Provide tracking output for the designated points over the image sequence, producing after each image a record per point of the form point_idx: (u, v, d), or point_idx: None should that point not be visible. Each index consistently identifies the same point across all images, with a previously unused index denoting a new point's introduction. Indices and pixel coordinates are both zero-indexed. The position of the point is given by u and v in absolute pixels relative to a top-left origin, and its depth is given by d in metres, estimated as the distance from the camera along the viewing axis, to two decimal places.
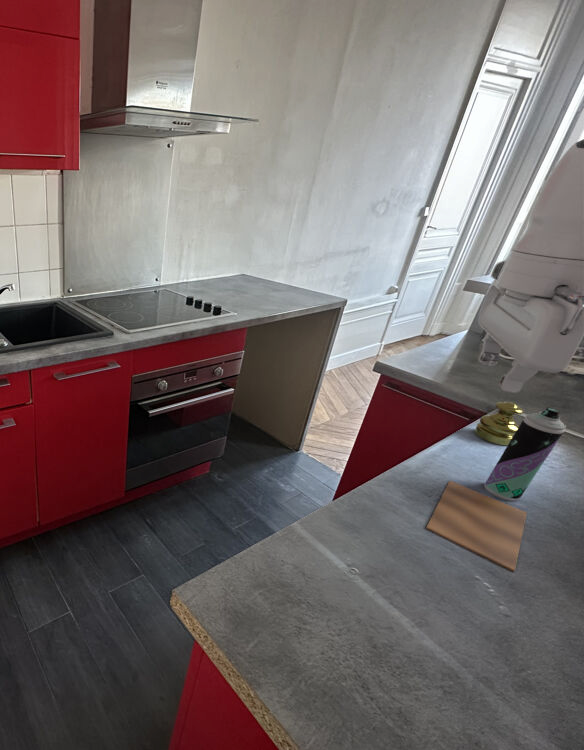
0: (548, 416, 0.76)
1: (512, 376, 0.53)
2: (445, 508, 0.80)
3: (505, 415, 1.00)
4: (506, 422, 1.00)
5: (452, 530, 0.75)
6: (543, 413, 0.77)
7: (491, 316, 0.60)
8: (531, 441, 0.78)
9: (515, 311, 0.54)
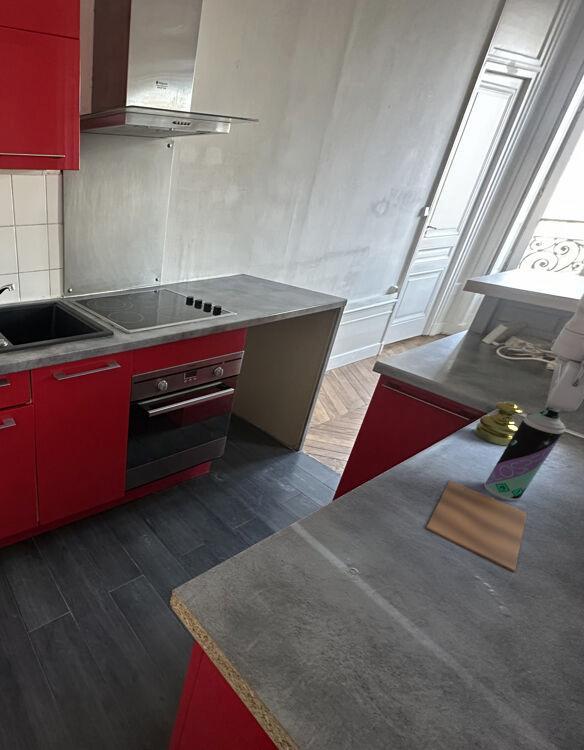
0: (548, 416, 0.76)
1: (549, 405, 0.78)
2: (445, 508, 0.80)
3: (505, 415, 1.00)
4: (506, 422, 1.00)
5: (452, 530, 0.75)
6: (543, 413, 0.77)
7: (556, 371, 0.81)
8: (531, 441, 0.78)
9: (563, 368, 0.77)
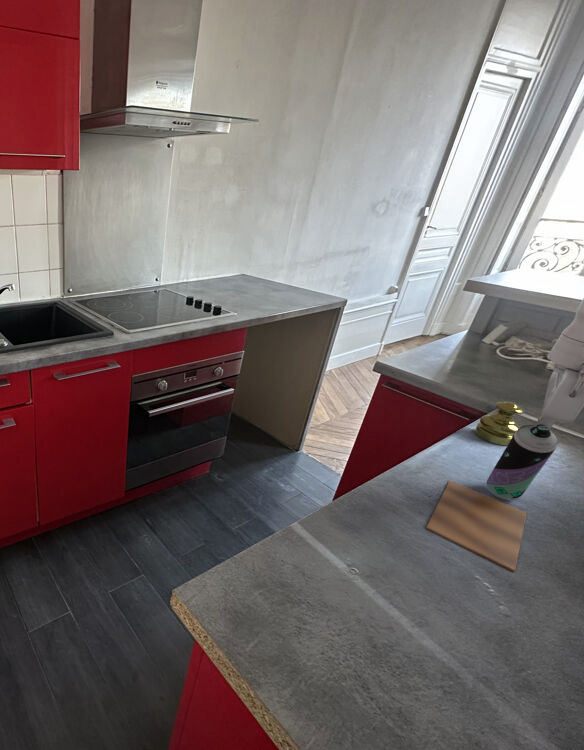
0: (537, 435, 0.72)
1: (544, 417, 0.74)
2: (445, 508, 0.80)
3: (505, 415, 1.00)
4: (506, 422, 1.00)
5: (452, 530, 0.75)
6: (533, 431, 0.73)
7: (552, 380, 0.77)
8: (521, 457, 0.75)
9: (560, 377, 0.72)
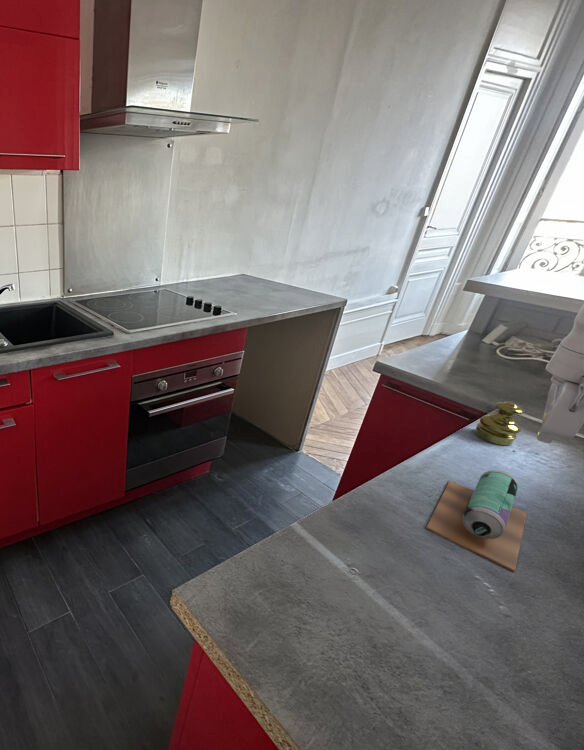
0: None
1: None
2: (445, 508, 0.80)
3: (505, 415, 1.00)
4: (506, 422, 1.00)
5: (452, 530, 0.75)
6: None
7: (552, 391, 0.74)
8: None
9: (559, 390, 0.69)
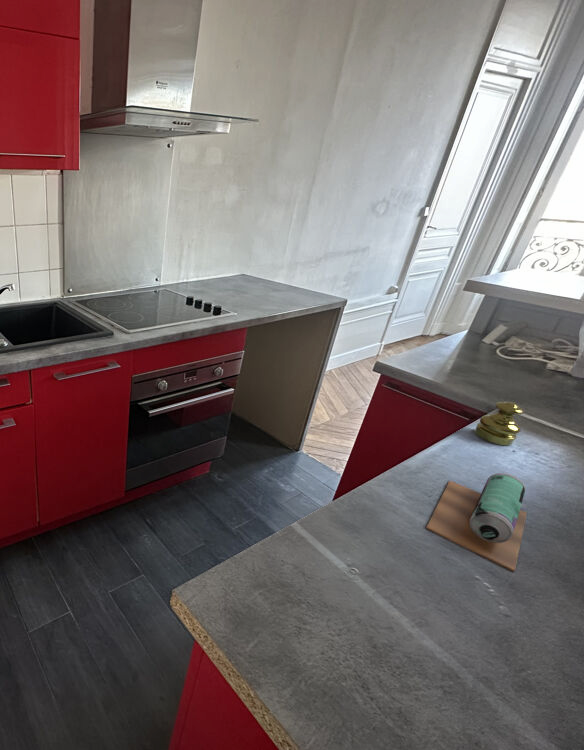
0: None
1: (579, 364, 0.69)
2: (445, 508, 0.80)
3: (505, 415, 1.00)
4: (506, 422, 1.00)
5: (452, 530, 0.75)
6: (481, 531, 0.72)
7: None
8: None
9: None
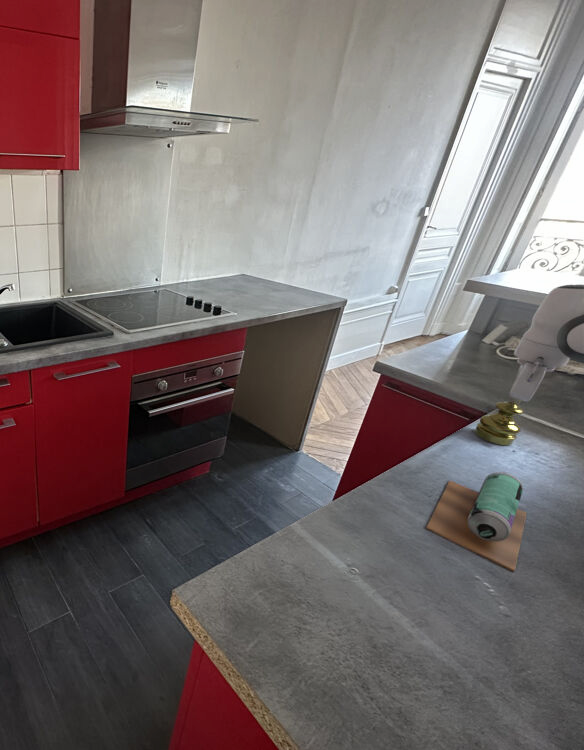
0: None
1: None
2: (445, 508, 0.80)
3: (505, 415, 1.00)
4: (505, 422, 1.00)
5: (452, 530, 0.75)
6: (478, 531, 0.72)
7: (520, 370, 1.03)
8: None
9: None
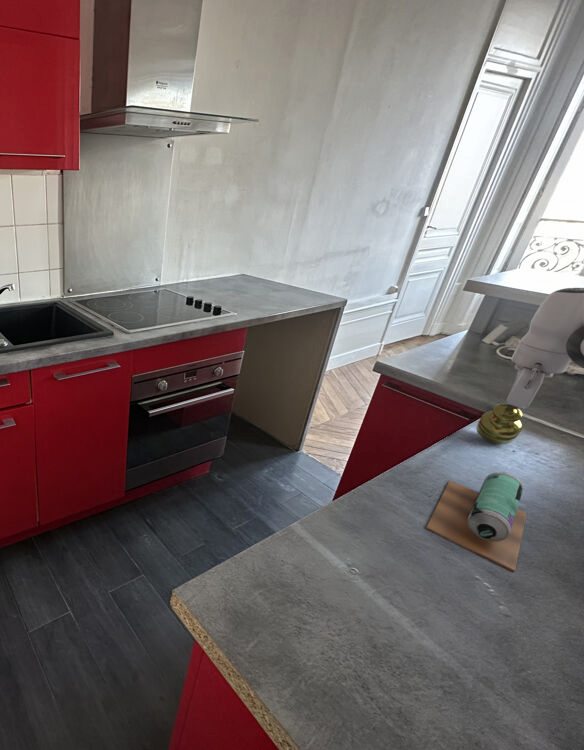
0: None
1: None
2: (445, 508, 0.80)
3: (503, 420, 0.97)
4: (503, 426, 0.98)
5: (452, 530, 0.75)
6: (478, 531, 0.72)
7: (517, 376, 1.00)
8: None
9: None
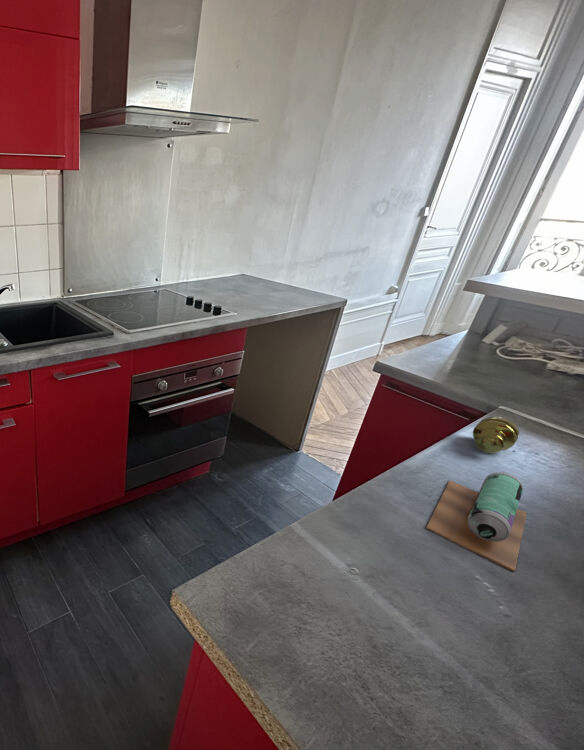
0: None
1: None
2: (445, 508, 0.80)
3: None
4: None
5: (452, 530, 0.75)
6: (478, 531, 0.72)
7: None
8: None
9: None
